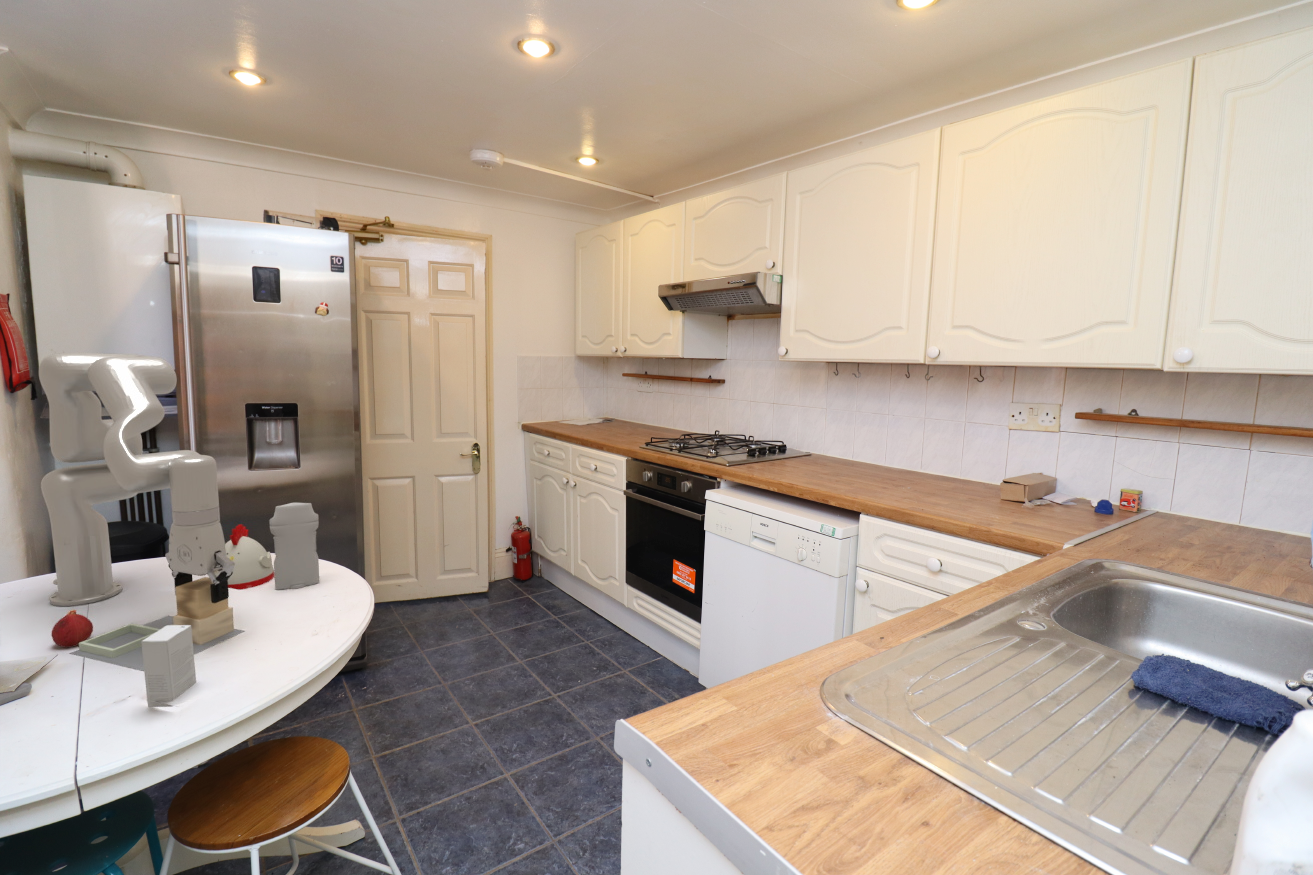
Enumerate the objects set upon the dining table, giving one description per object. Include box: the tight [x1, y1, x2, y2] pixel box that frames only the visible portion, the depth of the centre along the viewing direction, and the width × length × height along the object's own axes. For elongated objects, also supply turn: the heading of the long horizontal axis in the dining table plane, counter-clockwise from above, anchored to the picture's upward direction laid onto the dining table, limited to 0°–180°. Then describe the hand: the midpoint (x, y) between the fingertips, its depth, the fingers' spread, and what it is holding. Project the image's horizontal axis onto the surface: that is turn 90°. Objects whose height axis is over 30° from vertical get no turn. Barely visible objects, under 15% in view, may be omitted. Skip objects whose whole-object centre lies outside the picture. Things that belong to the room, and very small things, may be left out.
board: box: [69, 615, 246, 672], centre depth 119 cm, size 22×18×1 cm
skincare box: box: [141, 625, 197, 708], centre depth 102 cm, size 6×4×12 cm
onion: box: [50, 609, 94, 648], centre depth 117 cm, size 6×6×8 cm
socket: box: [78, 622, 160, 658], centre depth 118 cm, size 9×9×2 cm
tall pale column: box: [268, 502, 320, 591], centre depth 151 cm, size 11×4×22 cm, turn 125°
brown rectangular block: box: [172, 606, 235, 645], centre depth 122 cm, size 7×7×5 cm
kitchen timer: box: [212, 523, 275, 591], centre depth 154 cm, size 14×14×15 cm
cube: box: [174, 576, 230, 620], centre depth 122 cm, size 6×6×6 cm
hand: (202, 597), depth 122 cm, fingers open, 9 cm apart
